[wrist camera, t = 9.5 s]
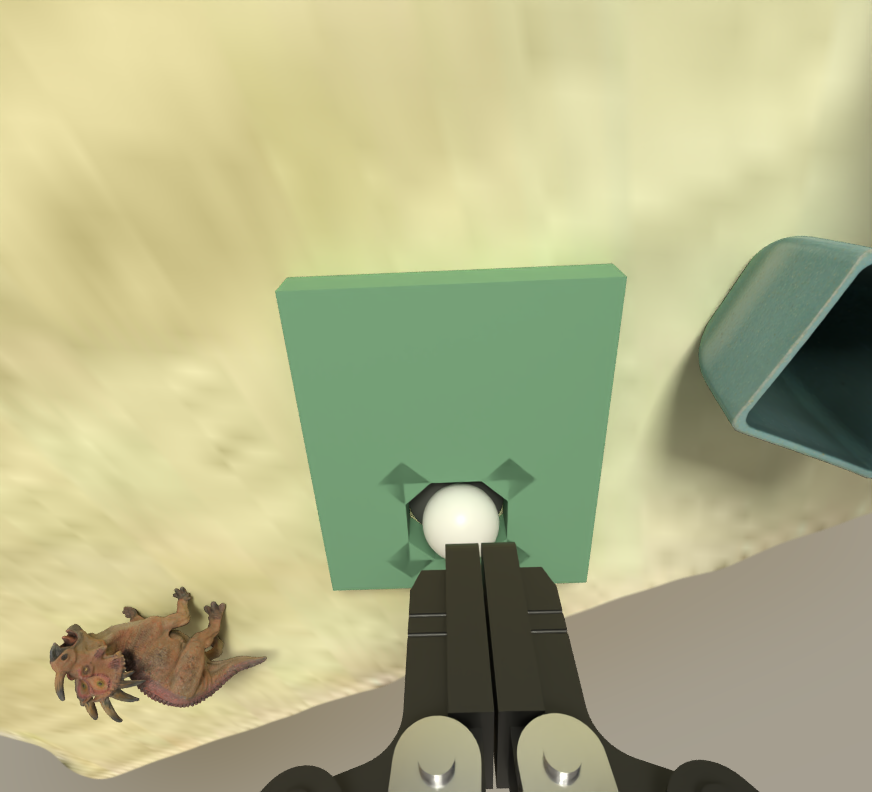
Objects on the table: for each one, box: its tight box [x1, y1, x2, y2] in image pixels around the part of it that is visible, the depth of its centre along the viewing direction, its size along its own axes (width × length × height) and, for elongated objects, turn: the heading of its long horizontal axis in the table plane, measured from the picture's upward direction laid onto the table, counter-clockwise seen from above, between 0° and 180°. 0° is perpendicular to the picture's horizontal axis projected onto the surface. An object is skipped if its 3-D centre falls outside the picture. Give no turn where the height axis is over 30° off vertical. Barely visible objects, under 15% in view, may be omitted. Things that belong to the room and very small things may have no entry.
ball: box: [422, 483, 499, 558], centre depth 35 cm, size 5×5×5 cm
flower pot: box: [699, 236, 872, 479], centre depth 27 cm, size 9×9×9 cm
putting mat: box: [275, 264, 627, 591], centre depth 34 cm, size 18×22×2 cm
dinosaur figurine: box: [50, 587, 267, 722], centre depth 39 cm, size 14×6×9 cm, turn 55°
